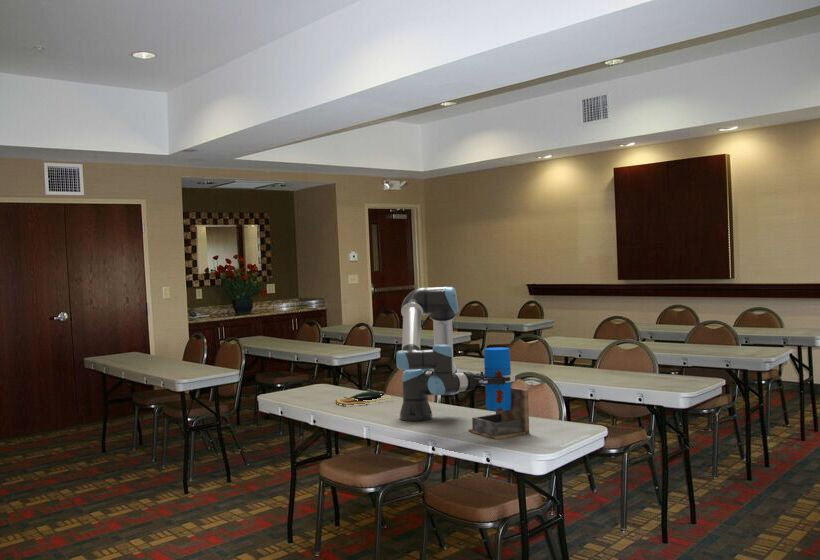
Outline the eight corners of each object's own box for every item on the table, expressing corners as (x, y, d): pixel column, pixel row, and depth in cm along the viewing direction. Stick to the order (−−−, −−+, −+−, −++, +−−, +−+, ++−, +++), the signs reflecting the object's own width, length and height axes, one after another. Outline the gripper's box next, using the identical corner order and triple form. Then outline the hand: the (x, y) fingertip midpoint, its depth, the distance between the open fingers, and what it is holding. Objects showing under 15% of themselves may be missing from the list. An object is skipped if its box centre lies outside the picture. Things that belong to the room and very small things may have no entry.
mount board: (468, 431, 298) (467, 389, 298) (499, 426, 307) (498, 384, 307) (497, 439, 282) (495, 394, 282) (529, 433, 291) (528, 389, 291)
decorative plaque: (381, 384, 393) (397, 388, 375) (382, 397, 393) (398, 402, 375) (330, 389, 379) (344, 394, 361) (330, 403, 379) (344, 408, 361)
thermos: (487, 411, 289) (485, 350, 289) (484, 406, 300) (482, 347, 300) (513, 410, 289) (511, 349, 289) (509, 405, 300) (508, 347, 300)
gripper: (446, 387, 295) (488, 382, 306) (481, 394, 275) (524, 388, 287) (446, 369, 295) (487, 365, 306) (480, 375, 275) (523, 370, 287)
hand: (505, 376), depth 296 cm, fingers closed on thermos, 11 cm apart
